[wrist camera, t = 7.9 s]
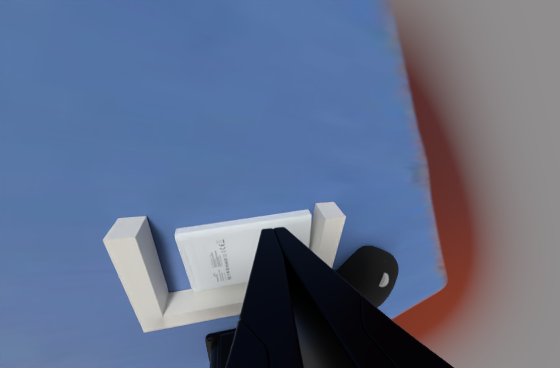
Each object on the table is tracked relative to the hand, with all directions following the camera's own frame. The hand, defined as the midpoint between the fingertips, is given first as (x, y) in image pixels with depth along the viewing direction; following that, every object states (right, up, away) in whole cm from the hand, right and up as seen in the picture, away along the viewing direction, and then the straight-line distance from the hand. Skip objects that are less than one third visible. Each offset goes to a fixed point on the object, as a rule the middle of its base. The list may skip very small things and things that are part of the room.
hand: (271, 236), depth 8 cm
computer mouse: (+10, -11, +21) cm, 26 cm away
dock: (-4, -6, +14) cm, 16 cm away
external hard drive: (-3, -5, +15) cm, 16 cm away
